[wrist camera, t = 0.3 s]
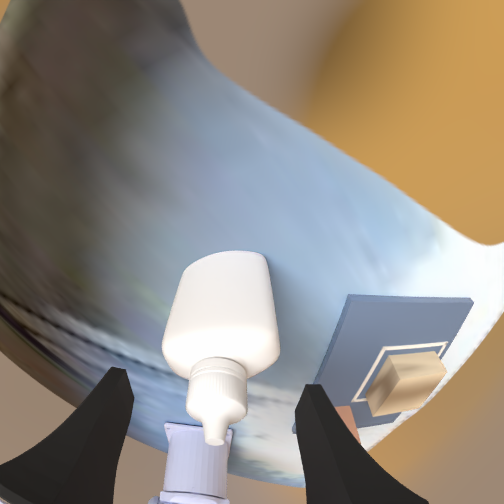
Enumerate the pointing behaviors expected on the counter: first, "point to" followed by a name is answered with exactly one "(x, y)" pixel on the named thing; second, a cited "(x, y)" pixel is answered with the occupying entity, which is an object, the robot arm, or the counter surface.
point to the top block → (348, 420)
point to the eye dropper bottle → (221, 336)
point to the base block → (404, 382)
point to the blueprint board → (383, 344)
